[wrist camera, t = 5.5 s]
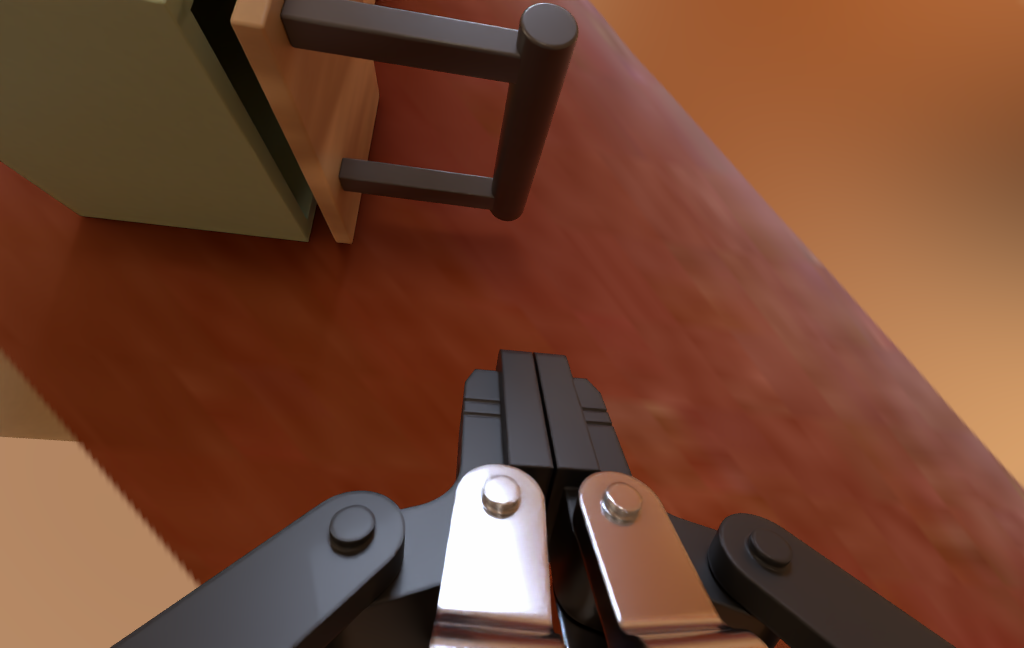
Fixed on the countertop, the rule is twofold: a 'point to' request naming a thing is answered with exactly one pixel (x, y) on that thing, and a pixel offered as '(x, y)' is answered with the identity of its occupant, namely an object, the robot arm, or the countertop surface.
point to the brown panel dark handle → (354, 95)
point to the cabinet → (146, 116)
